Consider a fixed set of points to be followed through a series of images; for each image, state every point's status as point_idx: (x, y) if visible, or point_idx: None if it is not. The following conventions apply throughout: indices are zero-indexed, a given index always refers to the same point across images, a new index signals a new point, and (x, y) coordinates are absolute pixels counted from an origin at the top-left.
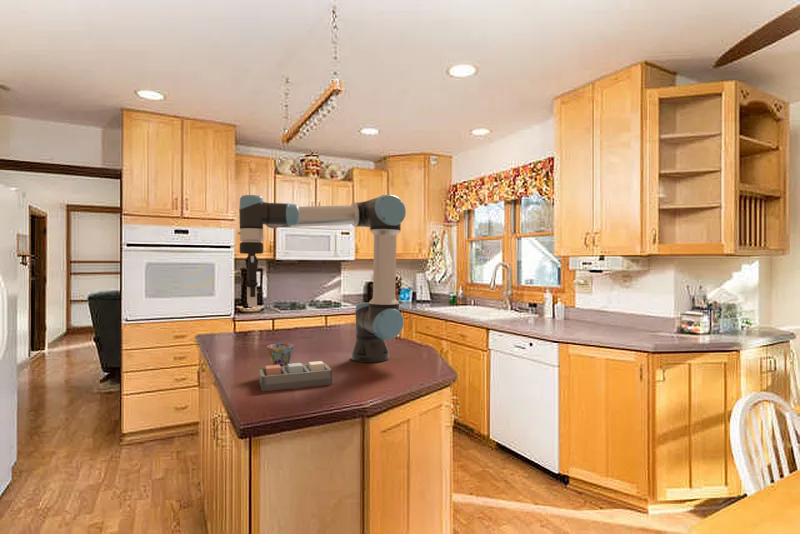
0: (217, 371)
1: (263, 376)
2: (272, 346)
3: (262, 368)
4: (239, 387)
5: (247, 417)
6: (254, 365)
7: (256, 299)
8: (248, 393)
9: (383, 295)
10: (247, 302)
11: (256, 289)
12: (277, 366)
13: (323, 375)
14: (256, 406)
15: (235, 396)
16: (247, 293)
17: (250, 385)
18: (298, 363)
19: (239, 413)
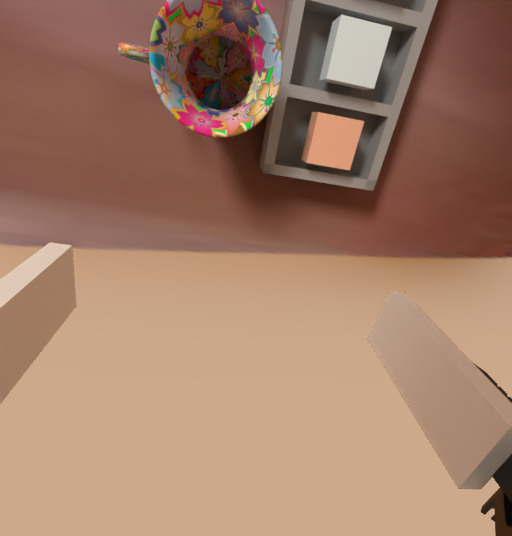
0: None
1: (371, 185)
2: (169, 95)
3: (270, 162)
4: (284, 223)
5: (499, 246)
6: (8, 121)
7: (437, 331)
8: (351, 214)
9: None
10: (70, 310)
11: (506, 404)
12: (342, 128)
13: None
14: (454, 219)
15: (354, 243)
16: (25, 369)
17: (282, 194)
18: (346, 30)
19: (467, 255)
